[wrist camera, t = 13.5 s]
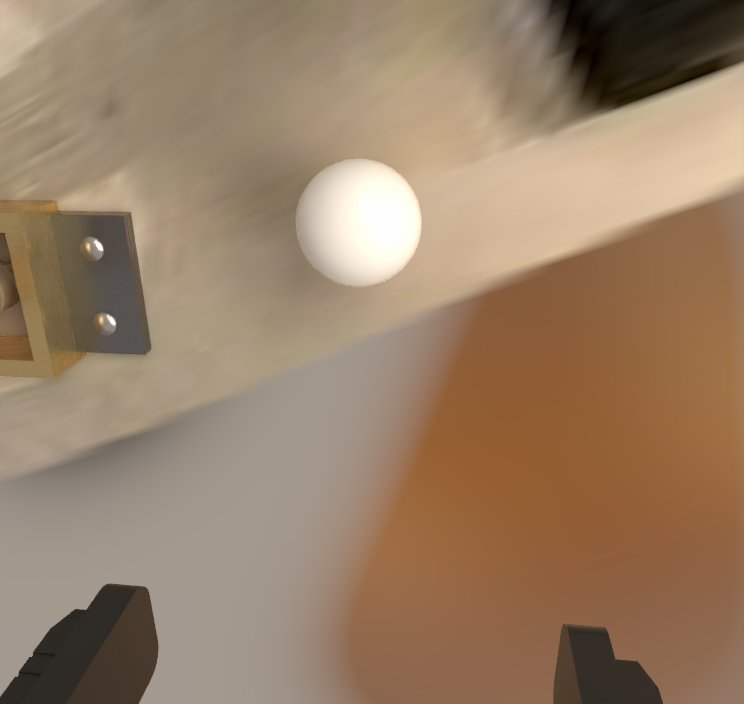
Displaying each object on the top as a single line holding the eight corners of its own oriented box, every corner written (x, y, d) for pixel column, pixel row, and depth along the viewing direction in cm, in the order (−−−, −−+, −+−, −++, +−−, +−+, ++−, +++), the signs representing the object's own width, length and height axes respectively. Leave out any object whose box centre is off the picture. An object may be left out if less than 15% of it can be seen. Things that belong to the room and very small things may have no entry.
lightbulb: (372, 267, 42) (345, 329, 32) (304, 191, 41) (253, 230, 31) (449, 202, 40) (446, 246, 30) (380, 119, 38) (352, 136, 28)
